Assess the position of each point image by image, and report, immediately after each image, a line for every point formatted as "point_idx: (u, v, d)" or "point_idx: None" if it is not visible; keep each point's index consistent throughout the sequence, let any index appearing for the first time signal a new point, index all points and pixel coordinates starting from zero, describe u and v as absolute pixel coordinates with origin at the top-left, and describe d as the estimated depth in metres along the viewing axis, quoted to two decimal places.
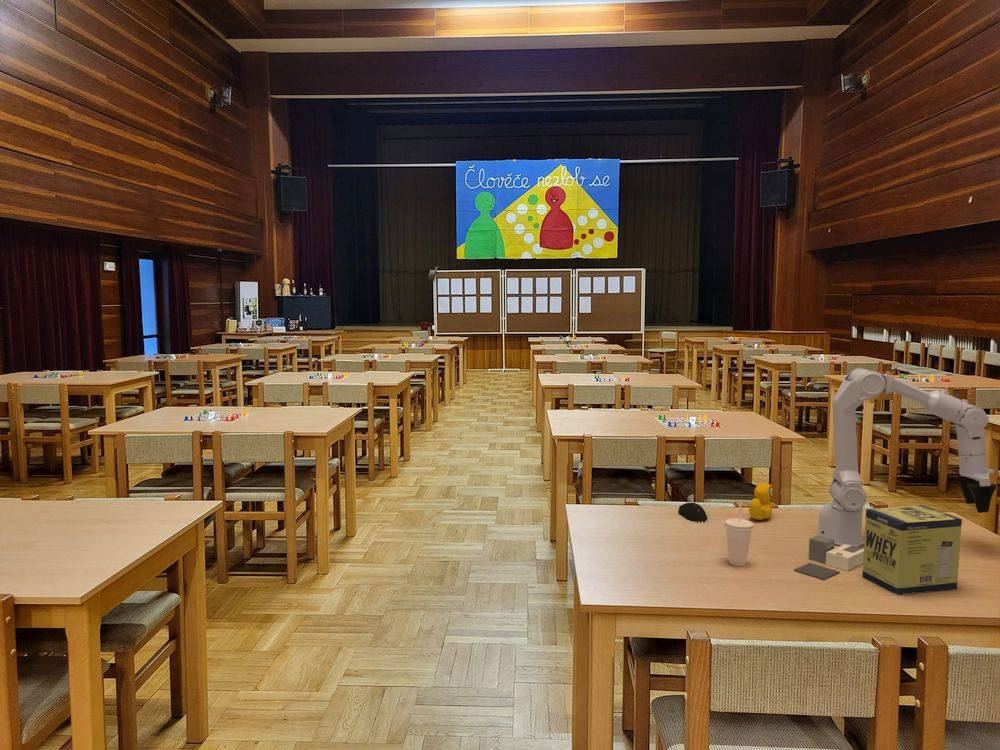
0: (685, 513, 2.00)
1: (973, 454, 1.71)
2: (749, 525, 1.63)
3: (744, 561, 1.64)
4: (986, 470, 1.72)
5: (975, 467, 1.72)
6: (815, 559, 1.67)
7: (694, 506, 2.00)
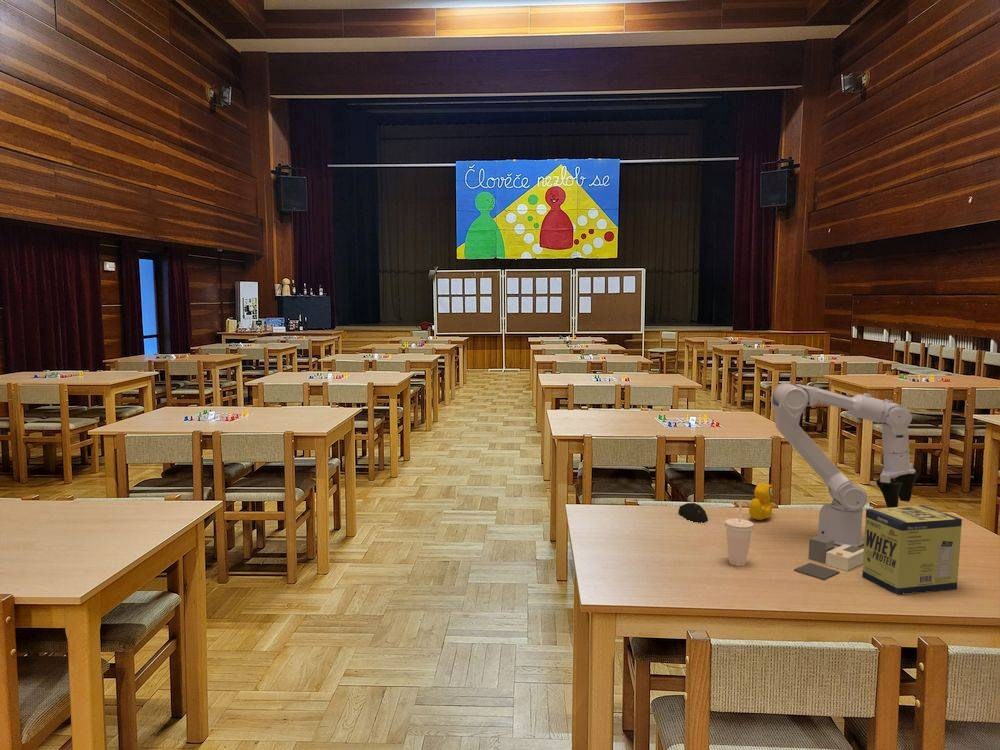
0: (686, 513, 2.00)
1: (896, 452, 1.75)
2: (749, 525, 1.63)
3: (744, 561, 1.64)
4: (902, 469, 1.75)
5: (890, 465, 1.76)
6: (815, 559, 1.67)
7: (694, 506, 2.00)
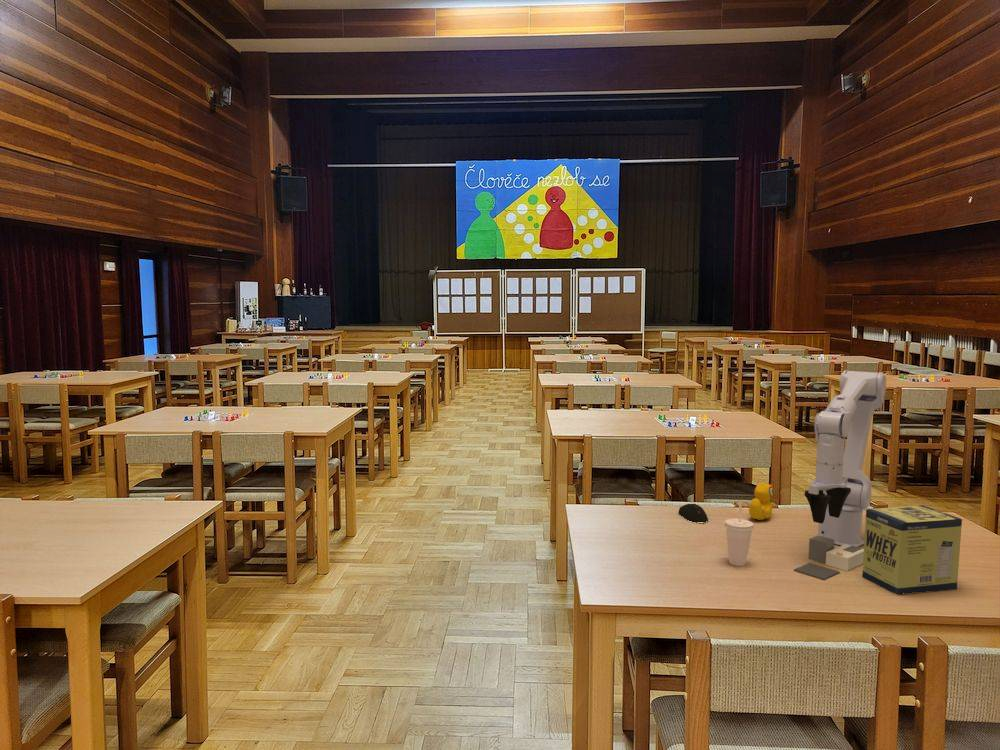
0: (686, 514, 1.99)
1: None
2: (749, 525, 1.63)
3: (744, 561, 1.64)
4: (833, 482, 1.64)
5: (821, 476, 1.66)
6: (815, 559, 1.67)
7: (695, 507, 2.00)
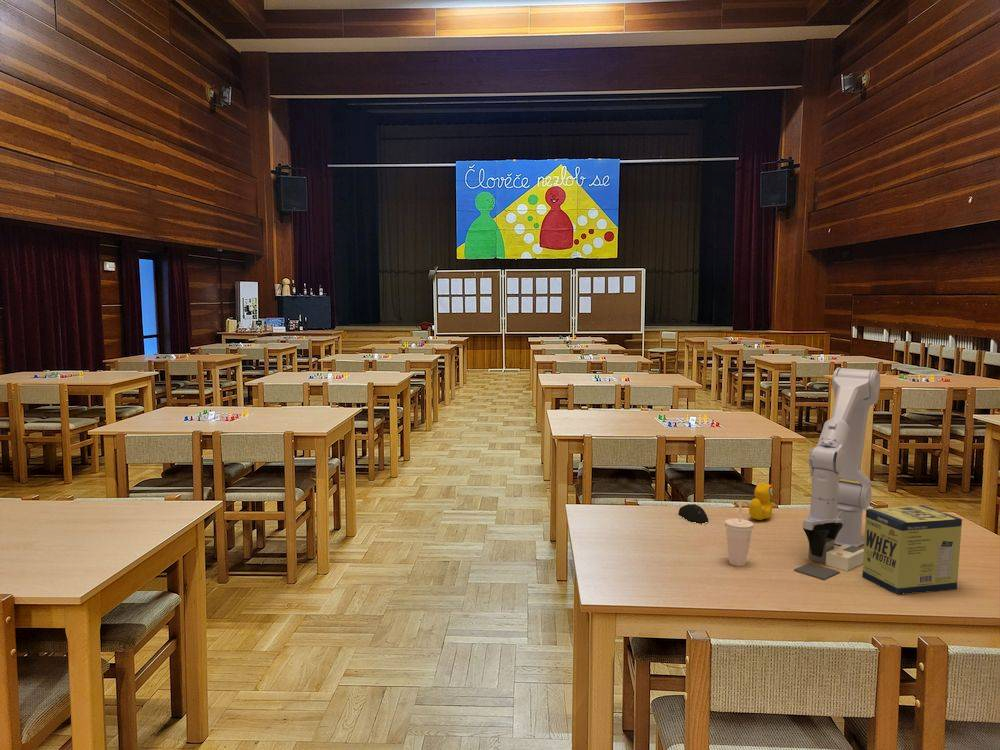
0: (686, 515, 1.99)
1: None
2: (749, 525, 1.63)
3: (744, 561, 1.64)
4: (828, 517, 1.65)
5: (816, 511, 1.66)
6: (815, 559, 1.67)
7: (695, 508, 1.99)
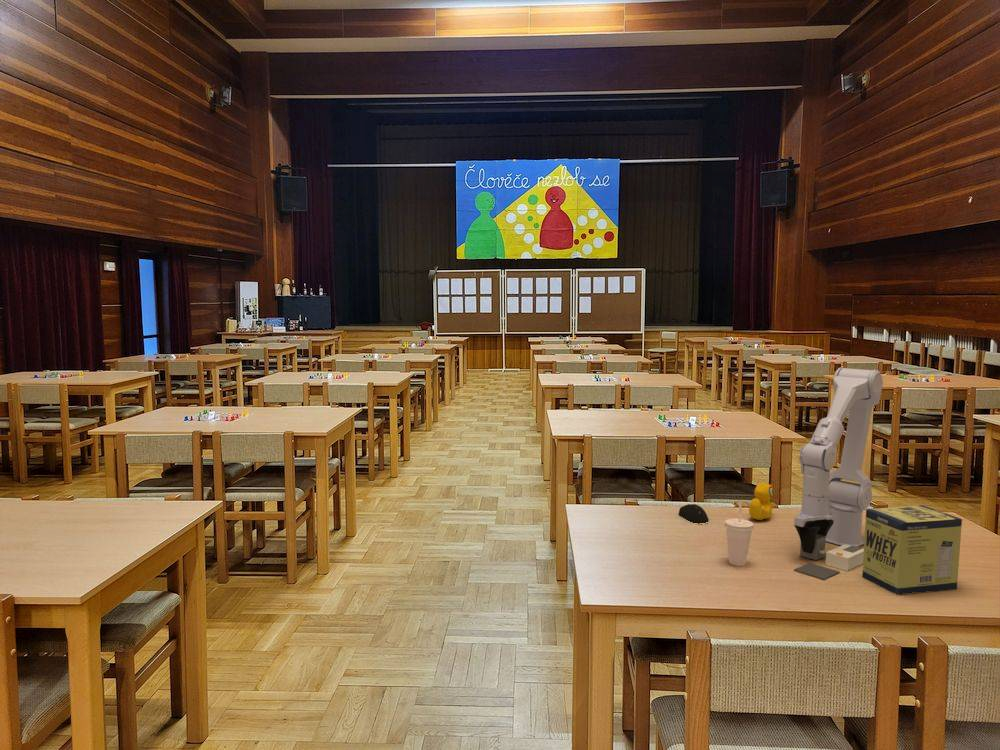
0: (686, 515, 1.98)
1: None
2: (749, 525, 1.63)
3: (744, 561, 1.64)
4: (818, 514, 1.66)
5: (807, 508, 1.67)
6: (807, 555, 1.69)
7: (695, 508, 1.99)
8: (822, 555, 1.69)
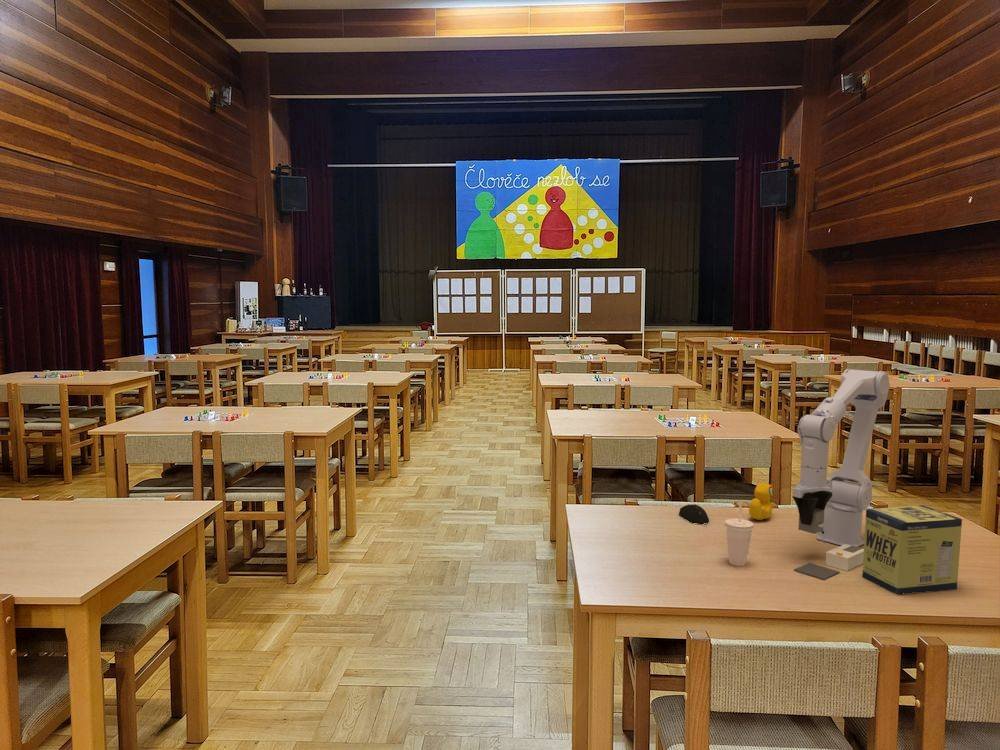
0: (687, 515, 1.98)
1: None
2: (749, 525, 1.63)
3: (744, 561, 1.64)
4: (817, 485, 1.65)
5: (805, 479, 1.67)
6: (805, 529, 1.68)
7: (695, 508, 1.98)
8: (820, 529, 1.68)
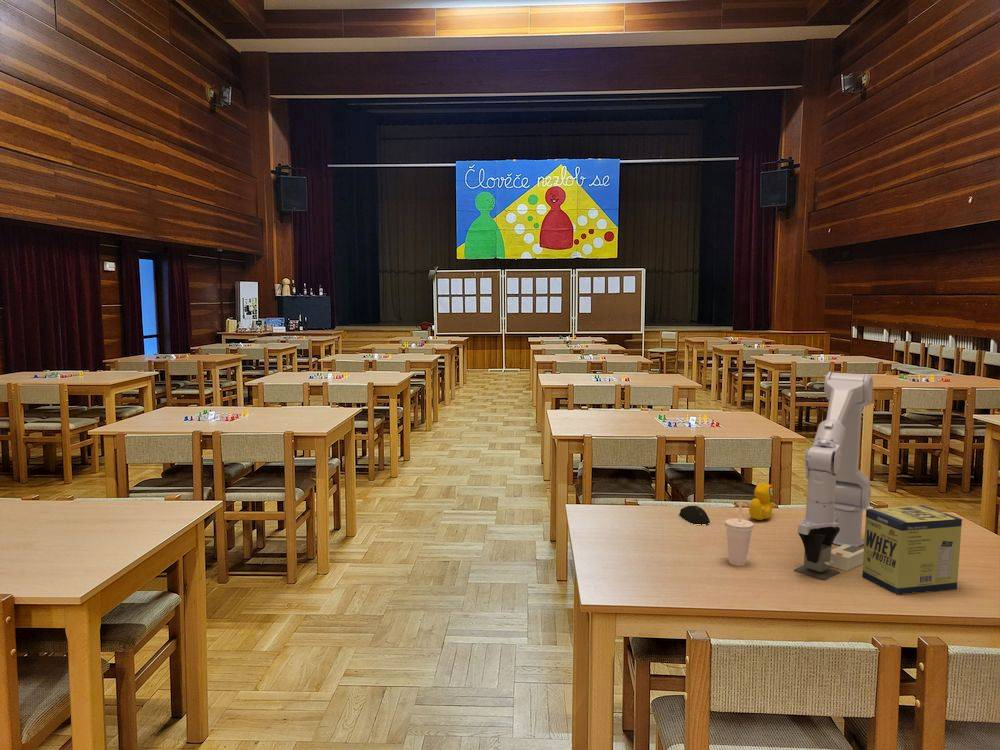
0: (688, 516, 1.97)
1: None
2: (749, 525, 1.63)
3: (744, 561, 1.64)
4: (824, 521, 1.57)
5: (811, 514, 1.58)
6: (811, 567, 1.59)
7: (696, 509, 1.98)
8: (827, 566, 1.59)
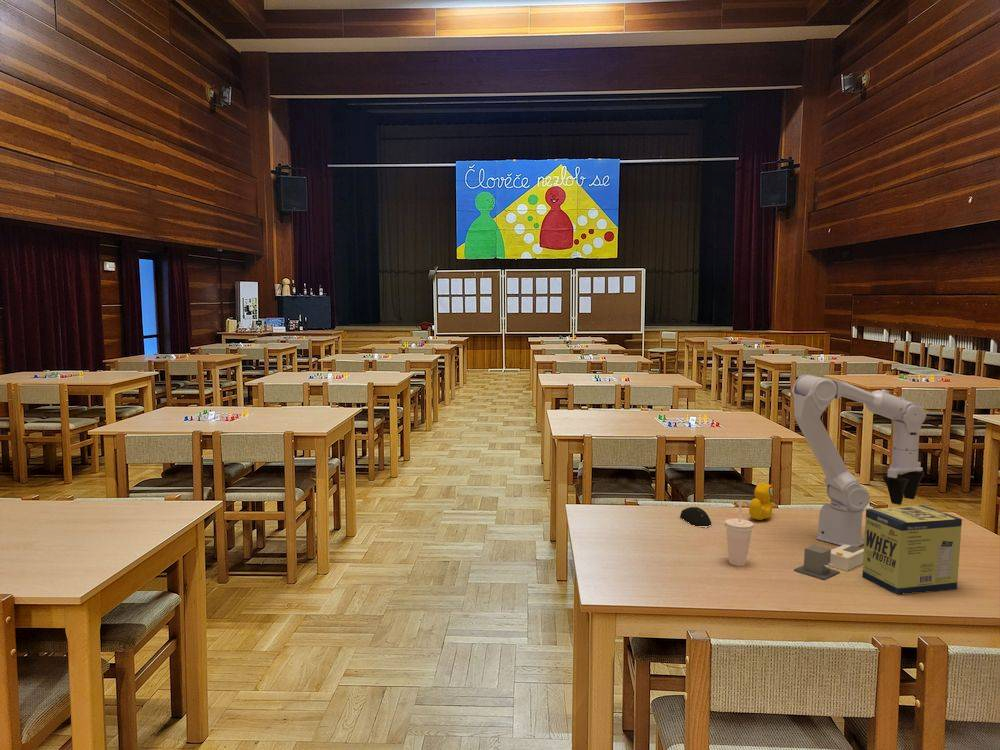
0: (689, 518, 1.96)
1: (909, 449, 1.77)
2: (749, 525, 1.63)
3: (744, 561, 1.64)
4: (910, 466, 1.78)
5: (898, 461, 1.79)
6: (811, 570, 1.59)
7: (697, 511, 1.96)
8: (827, 569, 1.59)
